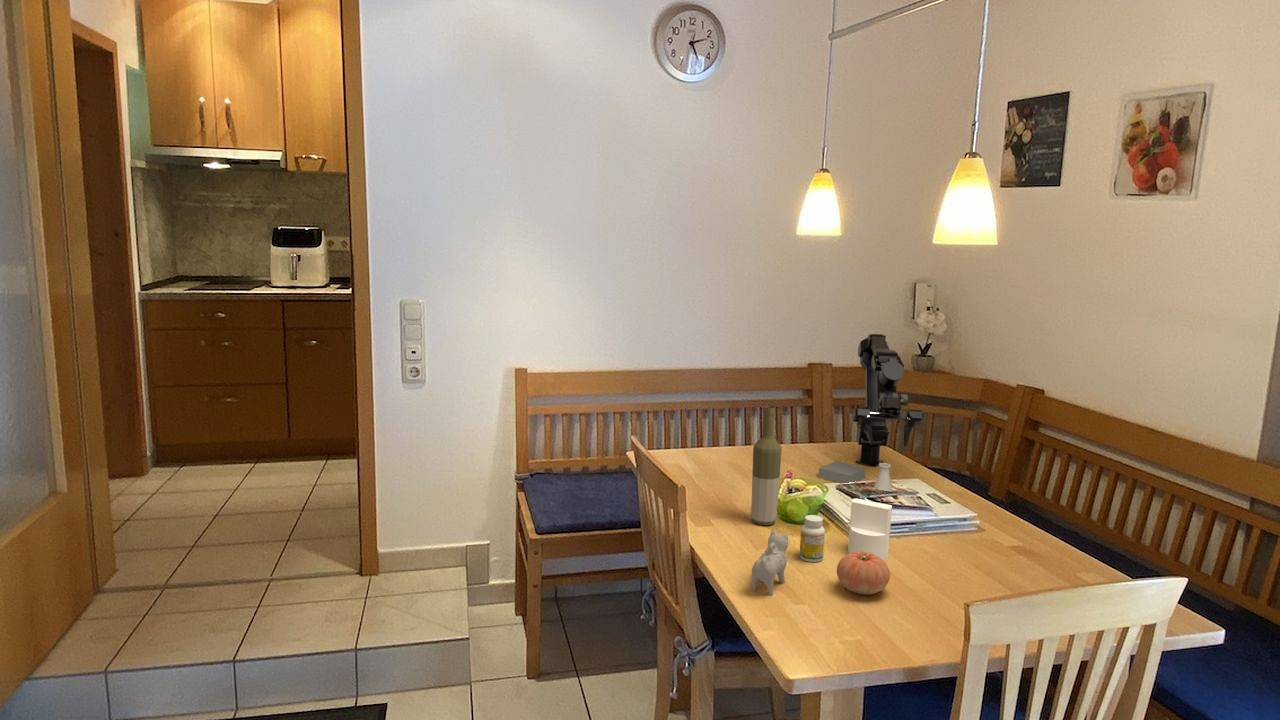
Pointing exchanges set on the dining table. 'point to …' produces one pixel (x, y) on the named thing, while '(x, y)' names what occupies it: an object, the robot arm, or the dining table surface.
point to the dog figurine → (771, 562)
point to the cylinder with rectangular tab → (869, 527)
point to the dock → (842, 472)
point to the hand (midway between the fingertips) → (888, 445)
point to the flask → (883, 478)
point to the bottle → (766, 473)
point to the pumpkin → (863, 572)
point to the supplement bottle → (812, 539)
